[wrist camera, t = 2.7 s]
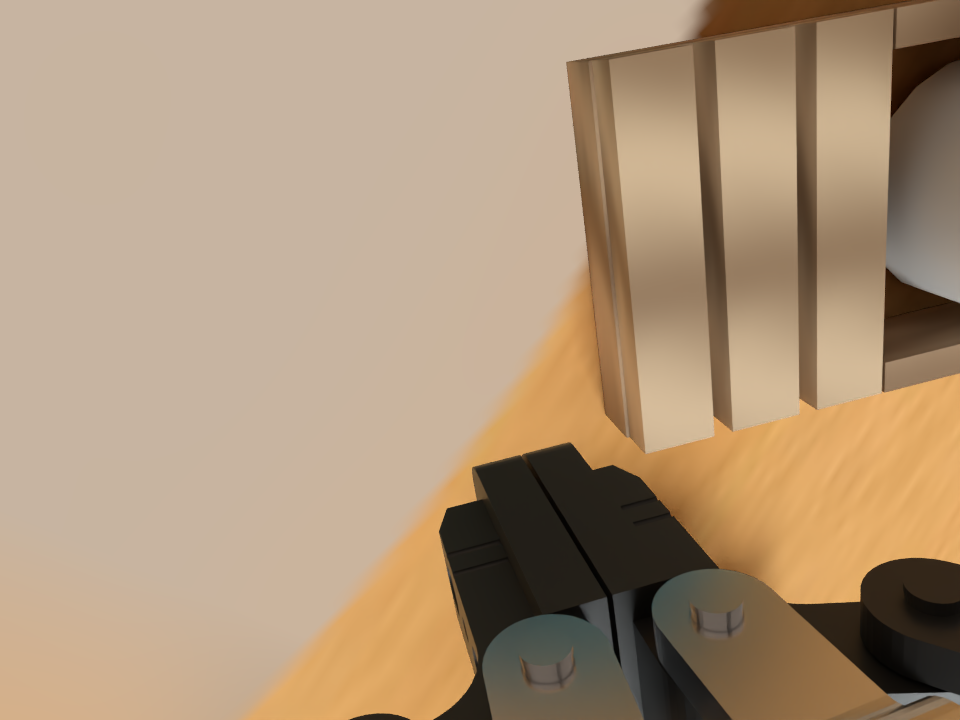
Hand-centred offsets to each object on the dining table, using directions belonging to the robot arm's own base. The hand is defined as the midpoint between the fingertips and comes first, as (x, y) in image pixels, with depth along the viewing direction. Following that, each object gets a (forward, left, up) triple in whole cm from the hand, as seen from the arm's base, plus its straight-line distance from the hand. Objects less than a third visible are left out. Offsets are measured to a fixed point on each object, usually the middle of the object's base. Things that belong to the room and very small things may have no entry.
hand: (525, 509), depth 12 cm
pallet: (0, +15, -13) cm, 19 cm away
